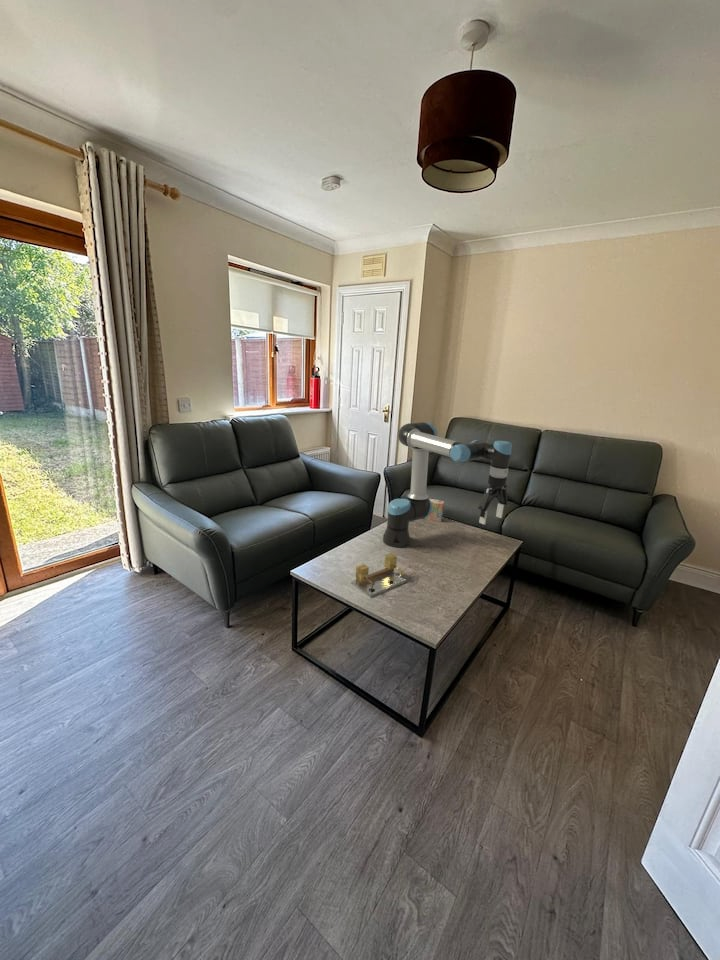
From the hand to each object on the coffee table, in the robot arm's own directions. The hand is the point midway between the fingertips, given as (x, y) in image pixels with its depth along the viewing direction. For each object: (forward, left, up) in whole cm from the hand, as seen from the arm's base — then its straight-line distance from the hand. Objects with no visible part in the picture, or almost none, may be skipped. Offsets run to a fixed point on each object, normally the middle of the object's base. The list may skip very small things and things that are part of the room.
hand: (490, 520), depth 178 cm
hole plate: (-21, -48, -27) cm, 59 cm away
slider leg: (-21, -38, -25) cm, 50 cm away
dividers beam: (-21, -47, -26) cm, 58 cm away
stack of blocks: (-63, +28, -28) cm, 74 cm away
